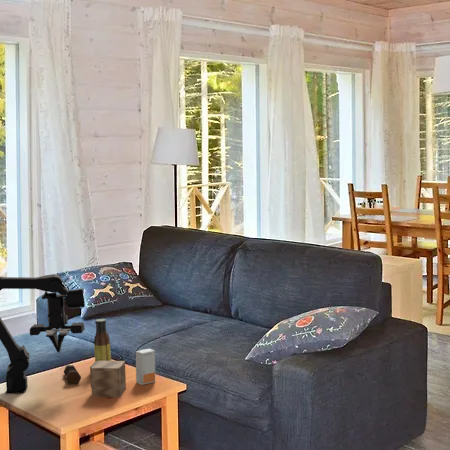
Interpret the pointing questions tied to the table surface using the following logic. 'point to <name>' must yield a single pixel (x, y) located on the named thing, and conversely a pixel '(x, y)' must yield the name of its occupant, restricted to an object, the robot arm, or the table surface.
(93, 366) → the housing
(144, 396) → the table surface
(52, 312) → the robot arm
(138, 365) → the skincare box
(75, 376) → the bolt
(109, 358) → the sauce bottle
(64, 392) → the table surface
